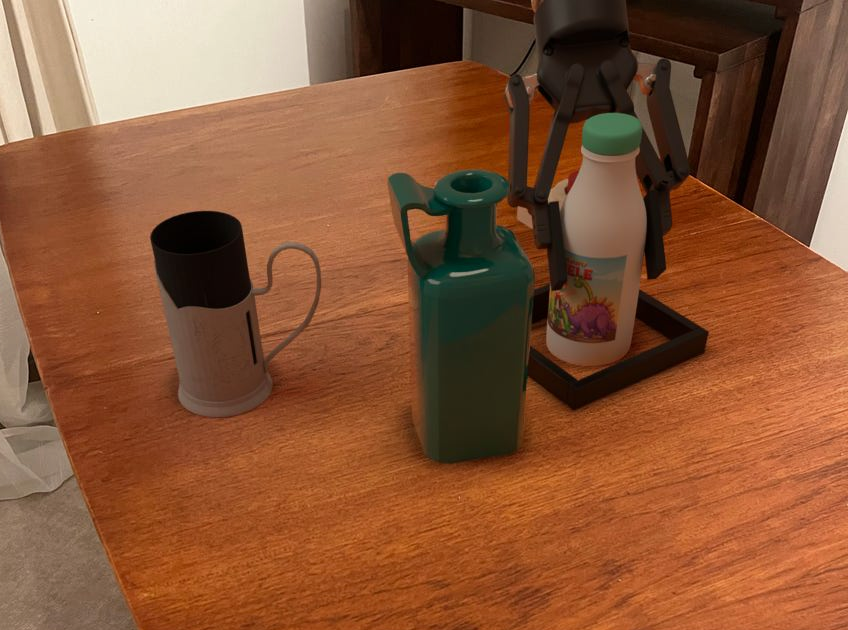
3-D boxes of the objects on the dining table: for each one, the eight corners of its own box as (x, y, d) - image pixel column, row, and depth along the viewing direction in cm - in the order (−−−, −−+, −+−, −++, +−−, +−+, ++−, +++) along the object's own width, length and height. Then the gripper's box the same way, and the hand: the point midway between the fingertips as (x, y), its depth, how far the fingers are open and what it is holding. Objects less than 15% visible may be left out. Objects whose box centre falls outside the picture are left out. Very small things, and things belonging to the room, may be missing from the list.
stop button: (608, 195, 107) (610, 178, 106) (581, 204, 106) (583, 188, 105) (586, 183, 109) (588, 166, 108) (559, 192, 108) (561, 175, 107)
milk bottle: (581, 316, 98) (605, 95, 83) (647, 346, 94) (684, 119, 79) (528, 349, 94) (542, 125, 80) (593, 381, 90) (621, 152, 76)
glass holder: (186, 363, 97) (152, 208, 85) (334, 359, 96) (320, 202, 85) (170, 418, 91) (132, 260, 80) (328, 414, 90) (312, 254, 79)
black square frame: (703, 360, 92) (709, 331, 90) (572, 418, 88) (576, 389, 85) (595, 292, 101) (598, 263, 99) (472, 341, 96) (472, 313, 94)
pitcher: (502, 400, 90) (515, 145, 73) (528, 459, 84) (548, 197, 68) (393, 417, 89) (382, 163, 73) (412, 477, 83) (405, 216, 67)
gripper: (461, -12, 80) (494, 280, 81) (716, -39, 81) (745, 251, 82) (450, 39, 88) (481, 306, 89) (683, 14, 88) (711, 280, 89)
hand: (608, 279), depth 85 cm, fingers closed on milk bottle, 8 cm apart
